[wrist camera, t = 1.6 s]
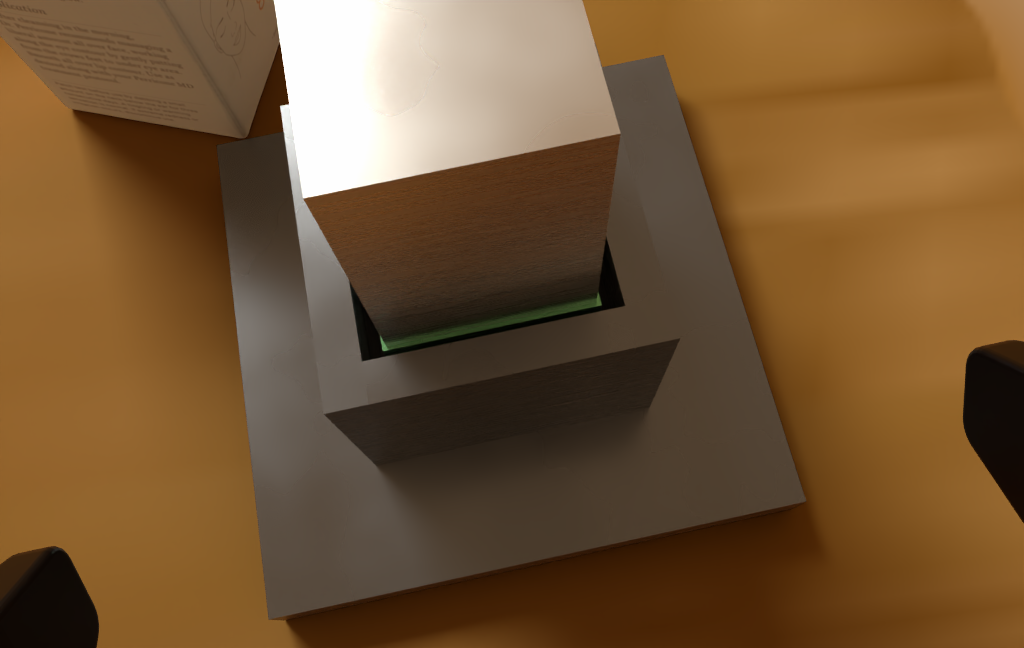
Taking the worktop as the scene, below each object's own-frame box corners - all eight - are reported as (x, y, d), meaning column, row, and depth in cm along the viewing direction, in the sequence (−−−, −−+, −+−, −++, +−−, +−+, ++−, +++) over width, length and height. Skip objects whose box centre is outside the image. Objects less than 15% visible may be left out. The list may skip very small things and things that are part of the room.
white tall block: (591, 367, 20) (629, 137, 11) (414, 405, 20) (297, 205, 11) (551, 209, 22) (554, -117, 12) (385, 243, 22) (259, -59, 12)
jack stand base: (792, 508, 21) (888, 458, 15) (284, 620, 20) (176, 614, 14) (658, 81, 25) (692, -91, 19) (232, 168, 24) (131, 19, 18)
